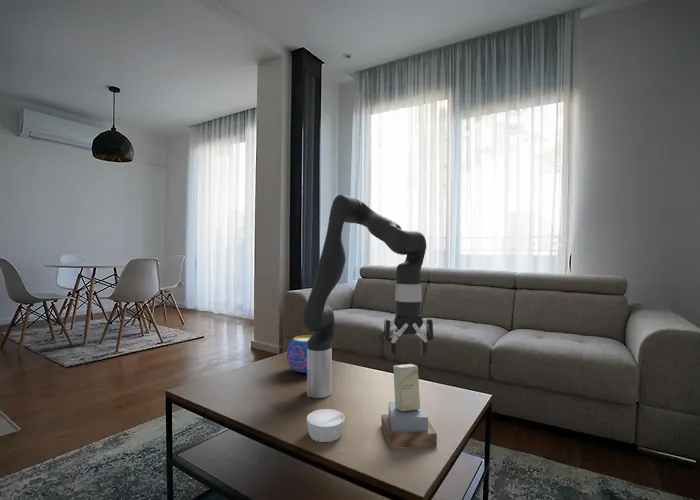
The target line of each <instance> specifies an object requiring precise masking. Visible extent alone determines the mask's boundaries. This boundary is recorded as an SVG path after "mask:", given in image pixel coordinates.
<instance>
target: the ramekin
mask: <svg viewBox="0 0 700 500" xmlns="http://www.w3.org/2000/svg"><path fill="white" fill-rule="evenodd" d="M345 420H346V418H345V415H344V414H343V412H341V411H339V410H336V409H332V408H331V409H330V408H325V409H324V408H321V409H317V410H314V411H312V412H310V413H308V415H307V417H306V424H307V429H308V435H309V437H310V438H311V440H313V441H314V440H315V442H317V441H319V442H318V443H321V442H328V443H331V441H333V442H335V441H337V440H339V439H340V438H341V436H342V435H343V430H344V425H345V424H344V423H345ZM338 438H339V439H338ZM334 440H335V441H334Z"/></svg>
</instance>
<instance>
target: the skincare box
mask: <svg viewBox="0 0 700 500" xmlns="http://www.w3.org/2000/svg"><path fill="white" fill-rule="evenodd" d="M392 368H393V383H394V385H393V386H394V402H395V407H396V408H397V409H399V410H400V411H408V410H416V409H420V402H421V401H420V400H421V399H420V387H419V385H420V384H419V368H418V365H416V364H413V363H407V364H406V363H405V364H395V365H393V366H392Z"/></svg>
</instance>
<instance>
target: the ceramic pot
mask: <svg viewBox="0 0 700 500" xmlns="http://www.w3.org/2000/svg"><path fill="white" fill-rule="evenodd" d="M312 335H313V334H311V335H309V334H308V335H307V334H305V335H298V336H295V337H293V338H292V339H291V340H290V342H289V343H288V346H287V351H286V359H287V362H288V365H289V367H290V368H291V369H292V370H293V371H295V372H297V373H301V374H307V341H308V340H309V339H310V338H311V337H312Z"/></svg>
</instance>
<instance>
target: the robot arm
mask: <svg viewBox="0 0 700 500" xmlns="http://www.w3.org/2000/svg"><path fill="white" fill-rule="evenodd" d="M329 211H330V213H329V217H328V224H327V231H326V235H325V239H324V244H323V247H322V251H321V254H320V258H319V261H318V264H317V268H316V274H315V278H314V281H313V284H312V288H311V290H310V295H309V297H308V299H307V302H306V305H305V307H304V311H303V314H302V324H303V328H304V329H305V330H307V332H312V334H311V335H312V337H311V338H310V339H309V340H308V341H307V373H306V397H307V398H313V399H314V398H315V399H324V398H327V397H330V396H331V395H332V393H333V389H332V388H333V387H332V385H333V384H332V383H333V382H332V379H333V378H332V377H333V376H332V375H333V372H332V368H333V367H332V364H333V363H332V361H333V360H332V359H333V358H332V355H333V354H332V352H333V351H332V350H333V349H332V347H333V346H332V344H333V341H334V339H335V338H334V337H335V314H334V310H333V308H332V307H331V306H330V305H328V304H326V302H327V300H328V298H329V296H330V294H331V293H332V292H333V290H334V289H335V288H336V286H337V284H338V283H339V281H340V280H341V279H342V278H341V277H342V276H343V271H344V269H345V264H346V261H347V260H346V258H347V257H346V252H345V248H344V245H343V241H342V233H343V228H344V225H345V224H344V223H348V224H356V225H360V226H363V227H366V228H367V230H368V231H369V233H370V234H371V235H373V237H375V238H377V239H378V240H379V241H381V242H383V243H385V245H386V246H387V247H388V249H390V250H391V251H392V252H393V253H395V254H397V255H401V256H405V255H406V257H405V260H404V261H403V262H401V263H399V264H398V265H397V266H396V272H395V273H396V277H395V278H396V280H395V281H396V285H395V295H394V298H395V299H394V300H395V310H394V311H395V317H394V319H388V318H384V321H383V324H384V326H383V339H384V340H385V341H386V342H389V352H390V353H391V355H392V356H393V357H394V356H397V343H396V341H398V339H399V338H400V337H401V336H402V335H403V336H405V335H406V336H407V335H411V336H413V335H415V334H416V335H417V336H418V337H419V338H420V341H419V342H420V343H419V345H420V346H419V347H420V349H419V350H420V351H419V353H420V355H421V356H425V355H426V354H427V351H428V345H427V344H428V342H429V341H433V340H434V324H433V322H434V321H433V319H432V318H429V317H427V318H424V319H423V318H422V305H423V303H422V302H423V301H422V299H423V298H422V295H423V294H422V293H423V292H422V285H421V284H422V278H421V277H422V275H421V273H422V272H421V270H422V267H423V264H424V259H425V255H426V251H427V240H426V237H425V235H424V234H423V233H422V232H421V231H418V230H403V229H402V227H401V225H400V224H398V223H397V222H396V221H394V220H391V219H389V218H388V217H386V216H384V215H382V214H380V213H378V212H376V211H375V210H373V209H372V208H371V207H369V206H368V205H367V204H366V202H364V201H363V200H361V199H359V198H357V197H354V196H350V195H344V194H338V195H337V196H336V197H334V199H333V201H332V203H331V208H330V210H329ZM423 324H424V326H425V327H426V335H425V334H424V332H423V331H422V330H421V328H422V326H423ZM393 325H395V327H396V328H395V329H394V331H393V333H392V334H391V336H390V333H391V332H390V331H391V328H392V327H393Z"/></svg>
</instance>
